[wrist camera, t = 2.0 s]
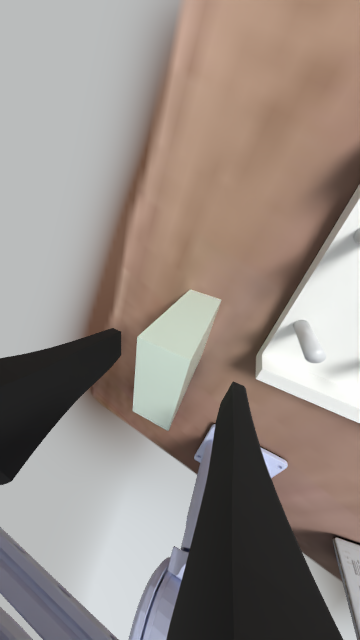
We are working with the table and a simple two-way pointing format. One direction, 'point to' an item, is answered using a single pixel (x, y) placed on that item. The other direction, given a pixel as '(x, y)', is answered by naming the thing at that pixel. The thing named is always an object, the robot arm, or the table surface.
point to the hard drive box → (350, 576)
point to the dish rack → (322, 326)
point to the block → (171, 356)
